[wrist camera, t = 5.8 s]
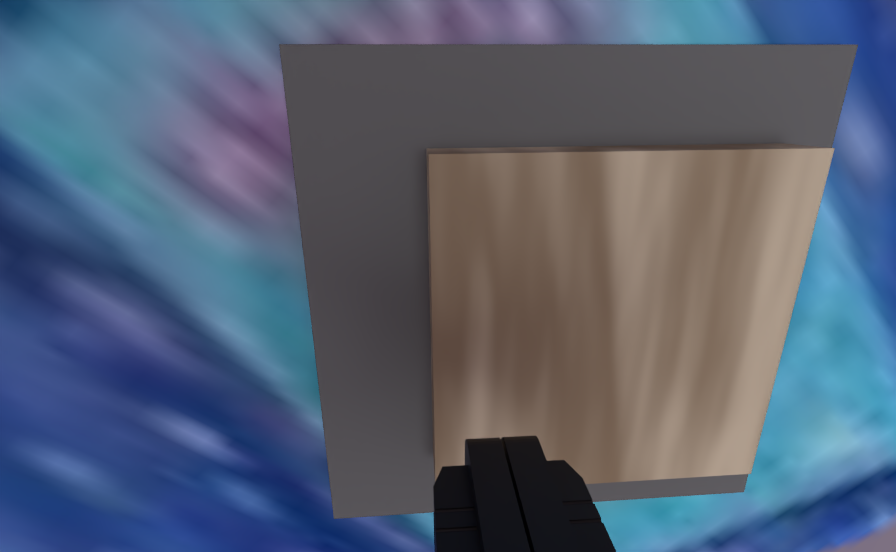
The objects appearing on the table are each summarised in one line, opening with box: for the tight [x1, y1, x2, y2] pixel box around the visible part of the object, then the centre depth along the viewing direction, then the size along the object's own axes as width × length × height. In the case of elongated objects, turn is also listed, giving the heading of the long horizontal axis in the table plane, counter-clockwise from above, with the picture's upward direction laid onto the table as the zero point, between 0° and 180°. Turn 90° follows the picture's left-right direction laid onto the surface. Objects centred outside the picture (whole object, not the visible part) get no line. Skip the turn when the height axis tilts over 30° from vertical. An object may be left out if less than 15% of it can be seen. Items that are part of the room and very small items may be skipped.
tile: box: [426, 143, 834, 484], centre depth 17 cm, size 2×12×12 cm
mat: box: [279, 44, 858, 519], centre depth 18 cm, size 18×18×1 cm
